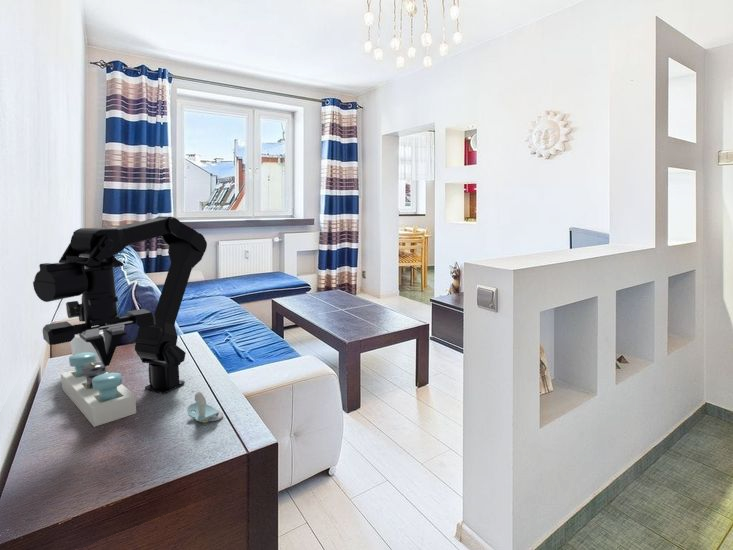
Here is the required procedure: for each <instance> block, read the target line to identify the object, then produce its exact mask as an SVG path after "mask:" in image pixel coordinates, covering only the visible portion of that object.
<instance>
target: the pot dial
mask: <svg viewBox="0 0 733 550" xmlns="http://www.w3.org/2000/svg"><path fill="white" fill-rule="evenodd" d="M81 369H82V376H84V377H86V380H87V388H89V389H91V388H93V385H92V379H93V378H94V377H96V376H98V375H101V374H104V373H106V372H108V370H107V366H104V365H103V364H102V362H97V363H90V364H87V365H85V366H83V367H82V368H81Z"/></svg>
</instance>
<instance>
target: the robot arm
mask: <svg viewBox="0 0 733 550" xmlns="http://www.w3.org/2000/svg"><path fill="white" fill-rule="evenodd" d="M159 237H160V238H161V240H162V242H163V243H165V244H166V245H167V246H168V250H167V254H168V257H169V261H170V266H169V268H168V271H167V275H166V276H165V279H164V284H163V287H162V290H161V293H160V296H159V299H158V302H157V304H156V308H155V311H154V313H153V312H152V311H149V310H147V309H146V308H141V309H134V310H133V309H132V310H128V311H126V314H125V316H119V313H118V303H117V302H119V299H118V298H119V297H118V296H117V292H116V290H117V289H116V281H115V271H114V270H115V269H114V268H121V267H123V266H124V262H122V261H121V260H119V259H117V257H115V256H116V255H117V254H120V253H122V252H123V251H124V250H125V249H126V248H127V247H128V246H131V245H134V244H137V243H140V242H144V241H147V240H152V239H155V238H159ZM207 246H208V243H207V240H206V238H205V236H204V235H203V234H202V233H200V232H198V231H197V230H195V229H194V228H192V227H190V226H188V225H186V224H184V223H182V222H181V221H180V220H179V219H177V218H176V217H175V216H165V215H164V216H163V215H161V216H159V215H158V216H156V217H155V218H150V219H146V220H142V221H138V222H133V223H128V224H124V225H120V226H115V227H89V228H88V227H84V228H83V227H81V228H78V229H76V230H74V231H73V234H72V236H71V238H70V242H69V244H68V245H67V247H66V248H65V250H64V252H63V253H62V255H61V257H60V259H59V261H58V262H53V263H49V262H44V263H39V266H38V267H39V270H38V271H37V272H36V274H35V275H34V280H33V281H32V286H33V290H34V292H35V294H36V296H37V297H38V299H40V300H41V301H43V302H44V303H49V302H53V301H54V302H55V301H58V300H64V299H67V298H74V297H77V296H81V303H79V301H78V300H74V301H67V302H66V303H65V307H66V315H67V318H69V319H72V318H78V321H79V322H82V323H79V324H78V323H77V324H71V323H69V322H68V321H59V322H54V323H48V324H45V325H44V326H43V328H42V337H43V340H44V341H45V342H46V343H47V344H48V345H51V346H53V345H55V346H56V345H60V344H65V343H70V342H71V341H72V339H73V338H74V337H75V335H76V334H79V336H80V338H82V339H83V340H84V341H85V342H90V343H91V344H92V346H93V347H94V349H95V350H96V352H97V354H98V356H99V358H100V360H101V362H102V364H103V365H104V366H106V367H108V366H110V365H111V361H112V359H113V357H114V353H115V351H116V349H117V347H118V345H119V343H120V341H121V339H122V338H123V336H127V334H128V332H127V331H126V330H125V327H126V326H129V325H136V326H138V327H139V328H138V330H137V335H136V337H135V339H134V340H133V342H134V343H135V344H134V351H135V352H136V354H137V356H138V357H139V358H140V360H141V363H142V364H143V363H144V364H148V368H147V369H148V370H147V371H148V381H149V384H147V385H145V386H144V389H145V390H148V391H152V392H156V393H161V394H166V393H168V392H171V390H174V389H176V388H178V387H181V386H182V385H185V383H186V381H185V380H181V379H180V370H179V367H180V366H179V365H181V364H182V363H183V362H185V358H186V351H184V350H183V349H182V348H180V347H179V346H178V345H177V344H178V343H177V342H178V332H177V329H176V325H175V324H176V320H177V318H178V315H179V311H180V308H181V305H182V302H183V298H184V297H185V296H184V295H185V293H186V288H187V286H188V283H189V279H190V276H191V273H192V270H193V268H194V267H196V265H198V264H199V263H200V262H201V261H202V259H203V258H204V255H205V253H206V250H207ZM99 330H103V334H104V337H103V336H101V335H100V332H99ZM104 339H105V343H104Z"/></svg>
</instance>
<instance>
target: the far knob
mask: <svg viewBox="0 0 733 550" xmlns="http://www.w3.org/2000/svg"><path fill="white" fill-rule="evenodd" d="M68 360H69V366H70V367H74V370H75V369H76V377H82V369H81V368H82V367H83V366H85V365H87V364H90V363H94V362H96V354H95V353H92V352H86V353H79V354H75V355H71V356H69V357H68Z"/></svg>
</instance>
